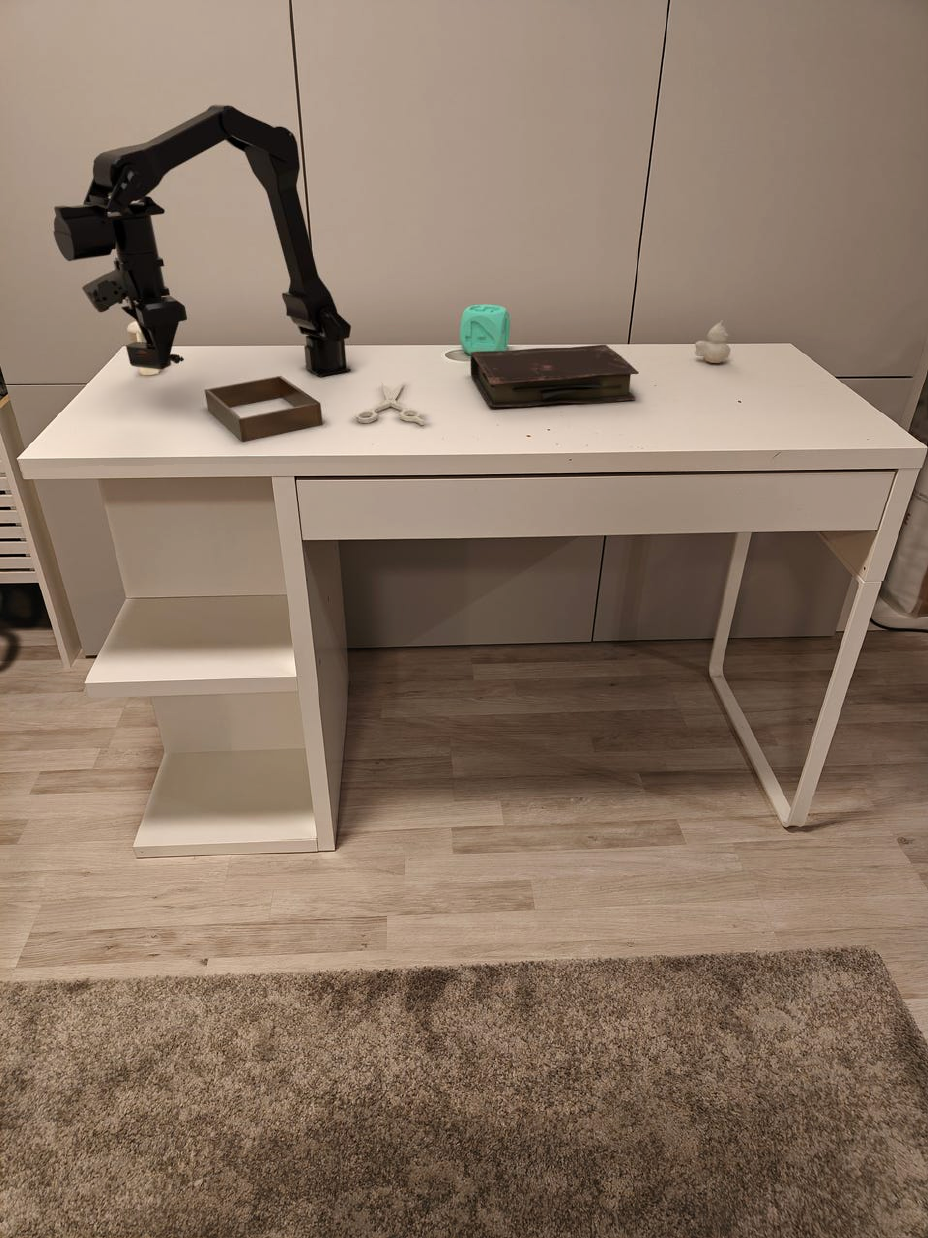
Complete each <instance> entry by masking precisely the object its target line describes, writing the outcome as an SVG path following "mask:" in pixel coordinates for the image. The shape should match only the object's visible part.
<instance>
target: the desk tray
mask: <svg viewBox="0 0 928 1238" xmlns="http://www.w3.org/2000/svg"><path fill="white" fill-rule="evenodd" d="M204 395H205V400H206V406H207V411H208V412H209V413H211V415H213V416H214V417H215V418H216V419H217V420H218V421H219V422H220V423H221V424H222V425H223V426H224V427H226V428H227V429H228V430H229V431H230V432H231V433H232V434H233V435H234V436H236V438H237V439H239V440H240V441H241V442H244V443H245V442H248V441H249V442H250V441H252V440H257V439H262V438H267V437H271V436H276V435H282V434H285V433H290V432H295V431H299V430H304V429H308V428H313V427H318V426H323V424H324V423H323V414H322V404H321V402H320V401H318V400H316V398H314V397H312V396H311V395H310V394H308V393H306V392H305V391H304V390H302V389H301V388H300V387H298V386H297V385H295V384H294V383H293V382H291V381H289V380H288V379H286V378H285V377H284V376H282V375H278V376H270V377H266V378H260V379H255V380H249V381H243V382H237V383H233V384H226V385H222V386H221V385H220V386H217V387H216V386H215V387H211V388H205V389H204ZM280 398H282V399H284V400H285V401H286V402H287V403H289V404H290V405H292V407H289V408H288V407H287V408H284V409H278V410H273V411H268V412H263V413H259V414H252V415H247V416H244V417H240V415H239V414H237V413H236V412H235V410H233V409H232V408H234V407H239V406H244V405H245V406H246V405H249V404H255V403H259V402H264V401H270V400H274V399H280Z"/></svg>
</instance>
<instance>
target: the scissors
mask: <svg viewBox="0 0 928 1238" xmlns="http://www.w3.org/2000/svg"><path fill="white" fill-rule="evenodd" d="M404 384H405V382H402V384H400V385H399V386H398V387H397V389H395V391H394V392H393V393H390V391H389V390H388V389H387V387H386V386H385V385H384V384H383V383H381V386H382V390H383V395H384V398H385V399H384V400H383V402H382V403H381V404H379V405H376V406H374V407H373V409H369V410H364V411H361V412H358V413H357V414H356V421H357V422H359V423H361V424H369V423H373V422H375V421H376V420H377V419H378V418H379V415H378V412H380V411H383V410H385V409H388V408H390V407H392V408H394V409H396V410H399V411H400V412H399V415H398V416H399V418H400V419H401V420H403V421H406V422H415V423H418V424H419V426H423V425H425V419H422V418H421V411H419V410H417V409H412V408H411V409H410V408H406V407H405V405H403V404H399V403H398V402H397V400H396V399H397V397H398V396H399V394H400V393H401V391H402V389H403V387H404Z"/></svg>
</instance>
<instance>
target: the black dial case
mask: <svg viewBox="0 0 928 1238" xmlns="http://www.w3.org/2000/svg"><path fill="white" fill-rule="evenodd" d="M125 348H126V353H127V356H128V360H129V364H130V365H131V366H132V367H135V368H139V367H142V368H151V369H159V371H161V370H165V369H168V368H169V367H170V366H171V365H172V363H174V364H179V363H181V362H184V361H185V358H184V357H183V356H182V355H181V356H180V354H177V353H171V354H170V358H169V362H167V363H161V361H160V359H159V357H158V354H157V352H156V349H155V346H154V344H153V343H146V342H133V343H131V342H130V343H128V344H126V345H125Z"/></svg>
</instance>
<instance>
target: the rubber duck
mask: <svg viewBox="0 0 928 1238" xmlns="http://www.w3.org/2000/svg"><path fill="white" fill-rule="evenodd" d="M729 336H730V335H729V334H728V333H727V331H726V327H725V326H724V325H723V318H722V319H721V320H720V321H719V322H717V323H716V324H715V325H714V326H712V328H711V329H710V330H709V332H708V333H707V339H708V340H707V341H705V340H698V341H696V342H695V344H694V345H695V353H694V354H695V355H696V356H697V357H703V359H704V360H705V361H706V362H708V363H710V364H720V363H722V362H725V360H726V359H728V358H729V356H730V355H731V348H730V346H729V344H727V342H726V341H727V338H728V337H729Z"/></svg>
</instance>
